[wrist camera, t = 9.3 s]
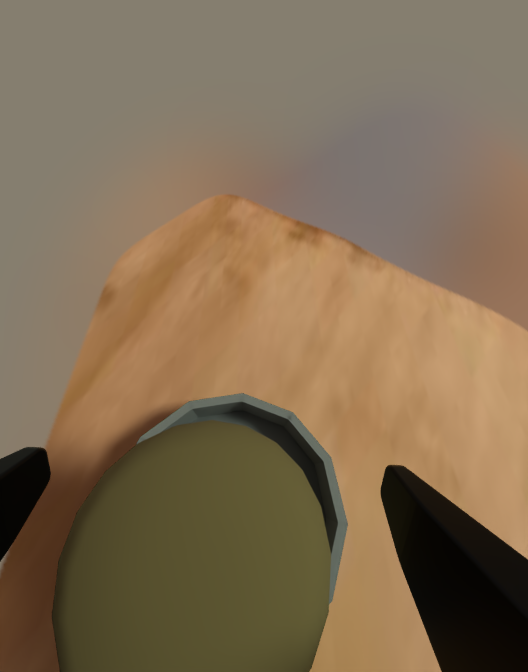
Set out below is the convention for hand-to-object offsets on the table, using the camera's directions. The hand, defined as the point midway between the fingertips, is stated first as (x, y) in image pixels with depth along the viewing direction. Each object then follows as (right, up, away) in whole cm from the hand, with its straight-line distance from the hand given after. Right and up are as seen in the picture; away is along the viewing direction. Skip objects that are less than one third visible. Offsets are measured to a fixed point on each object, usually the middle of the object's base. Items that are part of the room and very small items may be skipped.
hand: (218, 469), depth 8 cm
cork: (0, -5, +7) cm, 8 cm away
